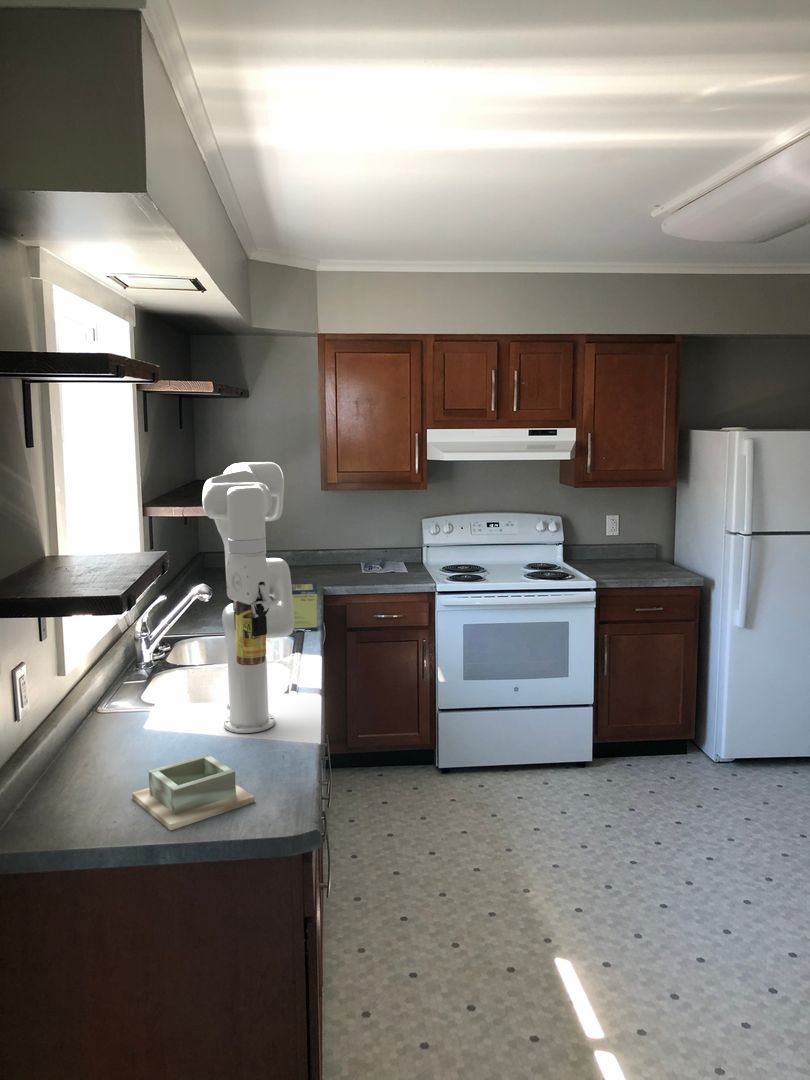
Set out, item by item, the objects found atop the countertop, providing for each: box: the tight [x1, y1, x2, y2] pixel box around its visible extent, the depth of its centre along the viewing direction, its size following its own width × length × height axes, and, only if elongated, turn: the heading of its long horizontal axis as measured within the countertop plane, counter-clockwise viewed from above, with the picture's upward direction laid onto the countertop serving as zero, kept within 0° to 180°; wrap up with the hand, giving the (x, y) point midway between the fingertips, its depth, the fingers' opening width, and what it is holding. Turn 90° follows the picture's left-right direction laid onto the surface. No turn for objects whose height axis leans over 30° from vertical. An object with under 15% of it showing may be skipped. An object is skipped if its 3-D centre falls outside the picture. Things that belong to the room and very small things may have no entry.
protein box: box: [291, 583, 319, 632], centre depth 309 cm, size 10×16×16 cm
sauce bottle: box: [235, 599, 267, 665], centre depth 176 cm, size 7×6×20 cm
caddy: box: [131, 753, 255, 831], centre depth 172 cm, size 18×18×6 cm
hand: (250, 631), depth 177 cm, fingers closed on sauce bottle, 6 cm apart
